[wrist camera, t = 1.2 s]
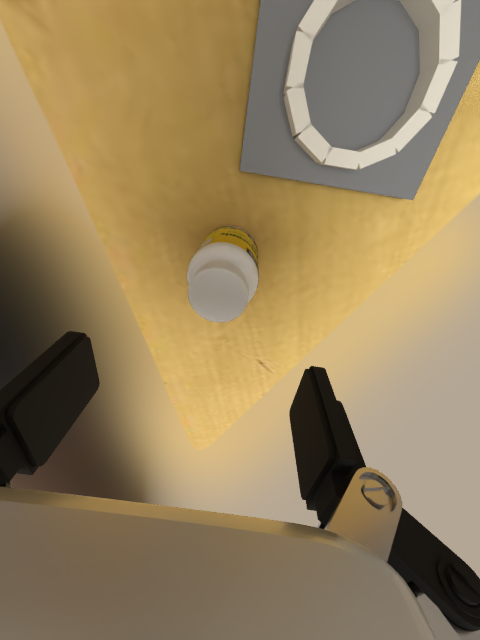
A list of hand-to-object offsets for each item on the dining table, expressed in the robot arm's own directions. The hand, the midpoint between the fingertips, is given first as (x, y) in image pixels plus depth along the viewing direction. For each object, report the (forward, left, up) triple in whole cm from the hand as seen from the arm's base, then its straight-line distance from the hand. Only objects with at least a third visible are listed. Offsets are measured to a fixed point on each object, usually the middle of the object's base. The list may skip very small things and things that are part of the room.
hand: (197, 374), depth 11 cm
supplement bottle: (0, 0, -16) cm, 16 cm away
